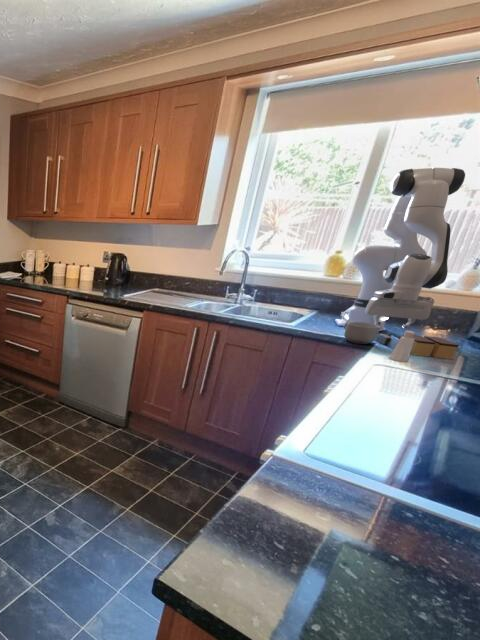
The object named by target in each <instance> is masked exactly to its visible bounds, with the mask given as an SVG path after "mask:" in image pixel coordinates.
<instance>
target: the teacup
mask: <svg viewBox="0 0 480 640" xmlns="http://www.w3.org/2000/svg"><path fill="white" fill-rule="evenodd" d="M343 328H344V336H343V337H344V339H346V340H347V341H348V342H350V343H352V344H359V345H367V344H369V343H372V342H374V341H376V339H377V336H378V334H379V332H380V331H379V329H380V328H381V327H380V326H379V325H376V324H371V323H364V322H352V321H348V322H346V323H345V325H344V326H343Z"/></svg>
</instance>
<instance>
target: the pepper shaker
mask: <svg viewBox="0 0 480 640" xmlns="http://www.w3.org/2000/svg"><path fill="white" fill-rule="evenodd" d="M403 334H404V337H402V336H401V337H400V338H399V339H400V340H399V341H398V343H397V345H396V347H395V348H394V349H392V352H391V354H390V355H389V357H388V359H390V360H392V361H396V362H402V363H404V362H405V363H406V362H408V361H409V358H410V355H411V354H410V352H411V349H412V345H413V342H414V339H413V336H414V335H416V332H415V331H413V330H405V331H404V333H403Z"/></svg>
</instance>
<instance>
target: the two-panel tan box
mask: <svg viewBox="0 0 480 640" xmlns="http://www.w3.org/2000/svg"><path fill="white" fill-rule="evenodd" d="M404 334H405V333H403V334H402V336H401V337H404ZM413 339H414V342H413V345H412V349H411V352H410V355H413V356H420V357H430V356H431V357H433V358H437V359H446V360H453V358H454V356H455V354H456V351H457V350H458V347H459V344H458V343H455V342H452V341H450V340H448V339H445V338H442V337H437V336H428V335H424V336H422V335H418V334H414V336H413Z"/></svg>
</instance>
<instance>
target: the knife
mask: <svg viewBox="0 0 480 640" xmlns="http://www.w3.org/2000/svg"><path fill="white" fill-rule="evenodd" d="M399 340H400V338H398V337H396V336H395V335H388V334H385V333H378V335H377V337H376V339H375V341H376V342H377V343H379V344H381V345H383V346H387V347H388V348H390V349H392V350H394V348H395V347H396V345H397V343H398V341H399Z"/></svg>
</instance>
